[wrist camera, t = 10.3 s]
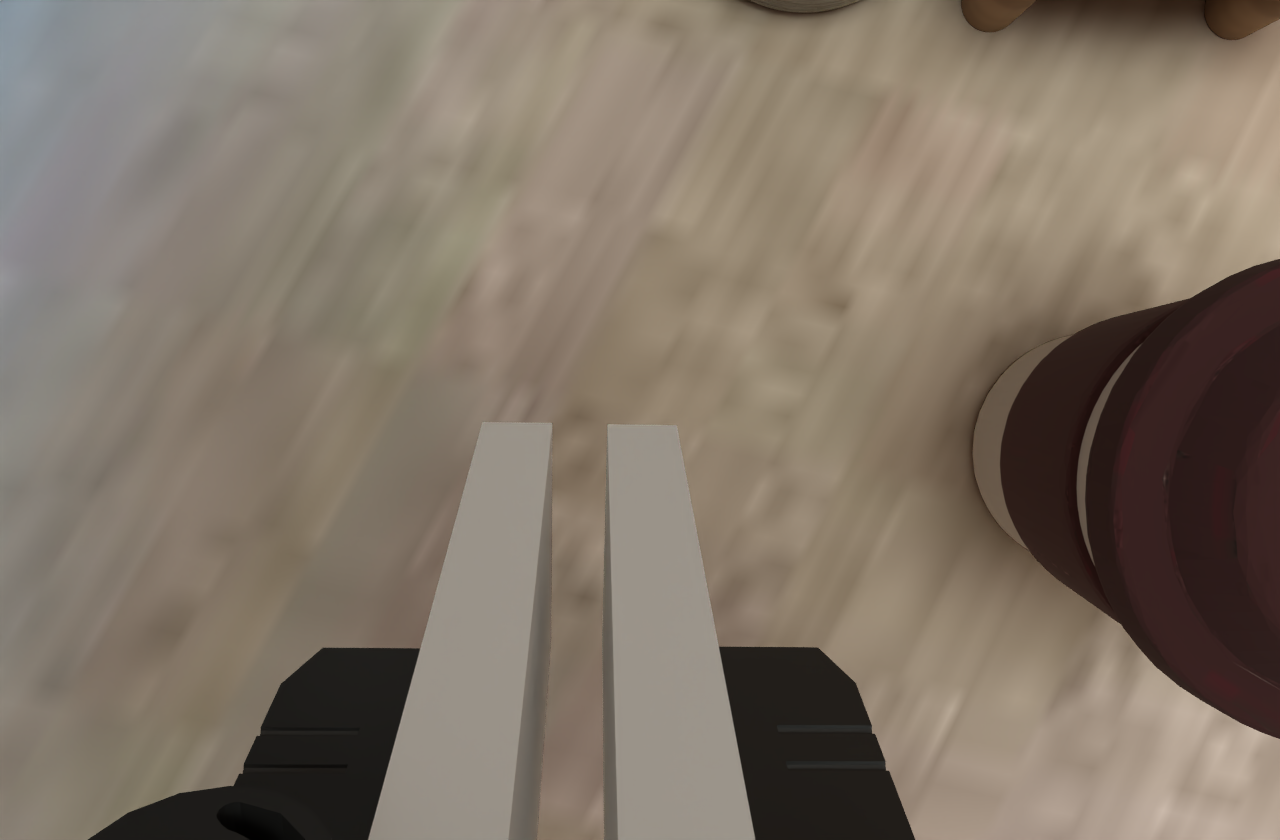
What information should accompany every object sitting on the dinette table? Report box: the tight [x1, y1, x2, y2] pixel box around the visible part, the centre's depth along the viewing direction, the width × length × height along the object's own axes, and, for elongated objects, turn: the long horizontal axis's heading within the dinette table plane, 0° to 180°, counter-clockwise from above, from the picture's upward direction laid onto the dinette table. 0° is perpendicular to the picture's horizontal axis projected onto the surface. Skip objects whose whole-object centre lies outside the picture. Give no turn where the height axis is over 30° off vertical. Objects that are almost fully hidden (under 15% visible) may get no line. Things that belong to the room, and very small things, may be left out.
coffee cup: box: [972, 259, 1280, 739], centre depth 27 cm, size 10×10×15 cm
